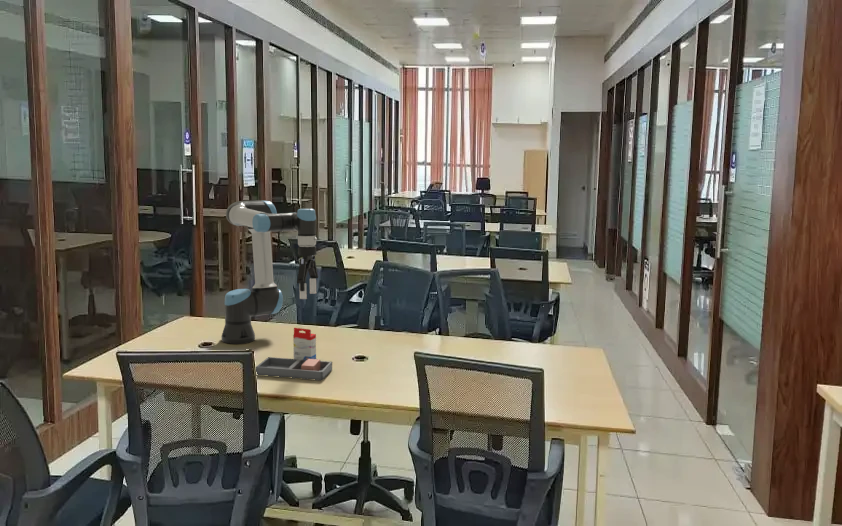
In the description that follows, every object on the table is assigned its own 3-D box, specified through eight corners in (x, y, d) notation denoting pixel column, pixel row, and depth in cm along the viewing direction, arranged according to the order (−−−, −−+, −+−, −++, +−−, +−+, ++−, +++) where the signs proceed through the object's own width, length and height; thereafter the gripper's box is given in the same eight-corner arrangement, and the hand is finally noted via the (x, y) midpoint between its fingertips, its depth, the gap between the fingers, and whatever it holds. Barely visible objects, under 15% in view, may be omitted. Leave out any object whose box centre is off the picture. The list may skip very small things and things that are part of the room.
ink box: (316, 360, 291) (316, 327, 289) (310, 363, 286) (311, 329, 284) (298, 358, 294) (298, 324, 291) (292, 361, 289) (292, 327, 287)
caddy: (255, 375, 269) (255, 366, 269) (268, 365, 283) (268, 357, 282) (322, 380, 266) (322, 371, 265) (332, 370, 279) (332, 361, 278)
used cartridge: (301, 375, 269) (301, 365, 268) (308, 368, 278) (308, 358, 277) (313, 375, 268) (313, 366, 268) (320, 369, 277) (320, 359, 276)
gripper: (306, 248, 272) (307, 301, 274) (324, 243, 297) (325, 291, 299) (288, 248, 273) (289, 300, 276) (307, 243, 298) (308, 291, 300)
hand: (308, 296), depth 287 cm, fingers open, 13 cm apart
